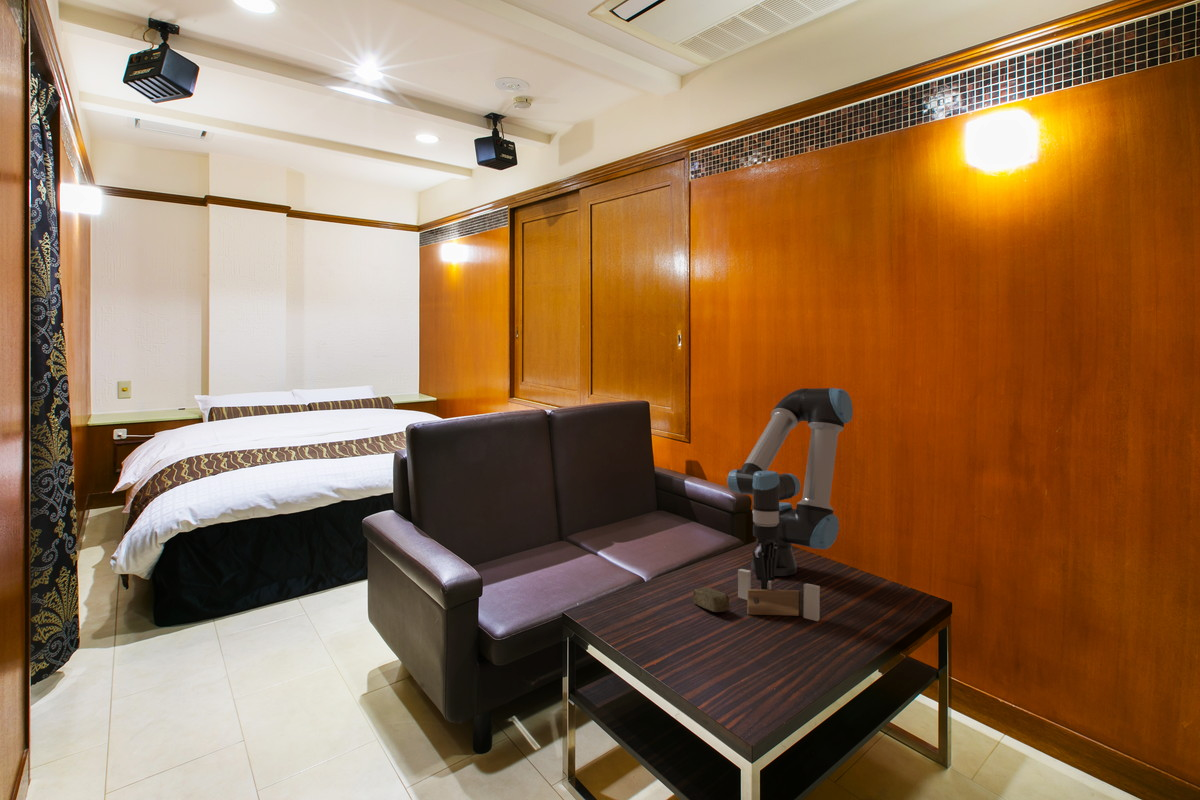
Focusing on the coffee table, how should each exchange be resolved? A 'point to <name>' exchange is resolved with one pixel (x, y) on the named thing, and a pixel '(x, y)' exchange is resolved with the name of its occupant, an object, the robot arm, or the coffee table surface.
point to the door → (775, 602)
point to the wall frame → (809, 594)
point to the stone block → (711, 599)
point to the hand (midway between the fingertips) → (765, 602)
